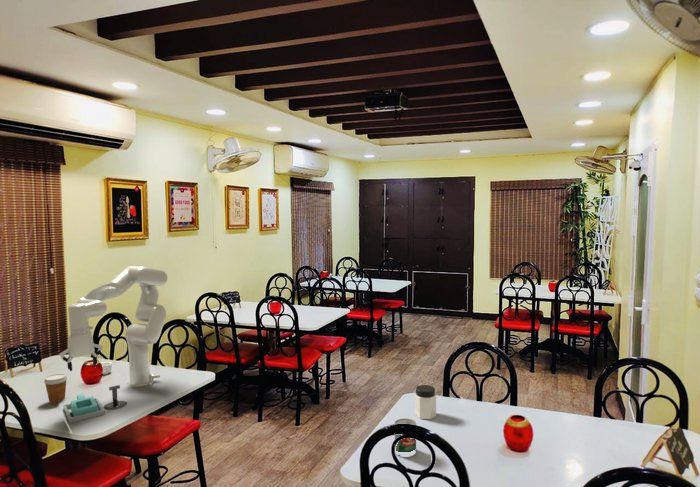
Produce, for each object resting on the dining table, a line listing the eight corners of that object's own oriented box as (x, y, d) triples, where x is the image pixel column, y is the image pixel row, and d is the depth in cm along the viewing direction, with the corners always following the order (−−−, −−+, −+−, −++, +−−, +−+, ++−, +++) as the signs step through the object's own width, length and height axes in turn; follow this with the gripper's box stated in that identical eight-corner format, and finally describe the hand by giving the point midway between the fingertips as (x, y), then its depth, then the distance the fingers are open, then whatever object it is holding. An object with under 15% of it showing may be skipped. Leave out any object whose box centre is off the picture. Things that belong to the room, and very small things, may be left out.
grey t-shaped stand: (124, 401, 232) (123, 380, 231) (129, 408, 224) (128, 387, 223) (101, 407, 226) (100, 386, 225) (105, 414, 218) (104, 392, 217)
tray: (97, 404, 230) (96, 397, 229) (105, 416, 216) (104, 409, 215) (63, 411, 221) (63, 405, 221) (69, 425, 208) (69, 418, 207)
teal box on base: (91, 399, 228) (90, 391, 227) (97, 413, 217) (97, 405, 216) (69, 404, 222) (68, 396, 221) (74, 419, 211) (74, 411, 210)
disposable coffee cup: (44, 407, 227) (42, 381, 226) (46, 400, 236) (44, 375, 235) (68, 403, 231) (66, 378, 230) (69, 396, 240) (67, 372, 239)
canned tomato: (408, 460, 175) (407, 430, 175) (390, 452, 181) (390, 423, 180) (420, 451, 181) (420, 422, 180) (403, 444, 187) (402, 416, 186)
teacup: (104, 370, 277) (104, 361, 276) (115, 372, 274) (114, 362, 274) (89, 376, 267) (89, 366, 267) (100, 378, 265) (100, 368, 264)
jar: (422, 409, 218) (422, 383, 217) (439, 414, 213) (439, 387, 212) (411, 416, 211) (411, 389, 210) (428, 421, 206) (428, 393, 205)
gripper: (99, 325, 230) (102, 361, 231) (56, 333, 219) (59, 370, 221) (102, 329, 224) (105, 365, 226) (59, 336, 213) (62, 374, 215)
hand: (83, 367), depth 223 cm, fingers open, 9 cm apart
